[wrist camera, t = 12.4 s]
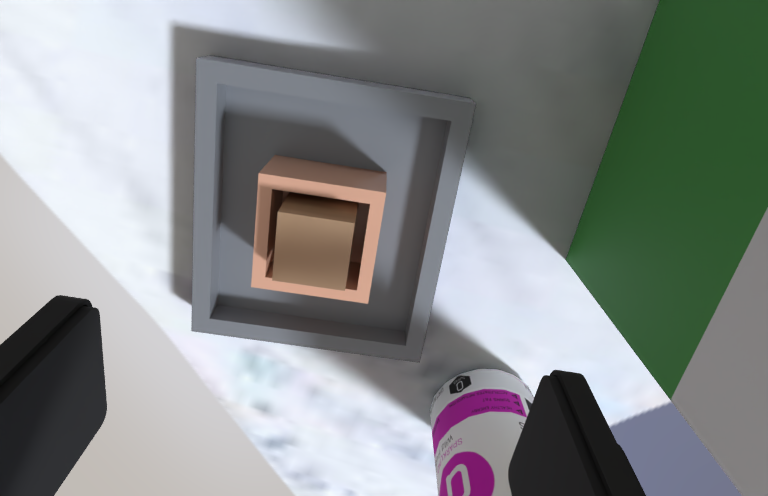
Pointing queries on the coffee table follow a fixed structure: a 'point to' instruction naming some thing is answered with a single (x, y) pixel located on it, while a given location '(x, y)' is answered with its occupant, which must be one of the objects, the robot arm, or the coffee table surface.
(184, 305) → the coffee table surface
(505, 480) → the supplement can
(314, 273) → the block
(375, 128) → the tray
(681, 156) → the hardback book
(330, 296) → the salmon pink square box
